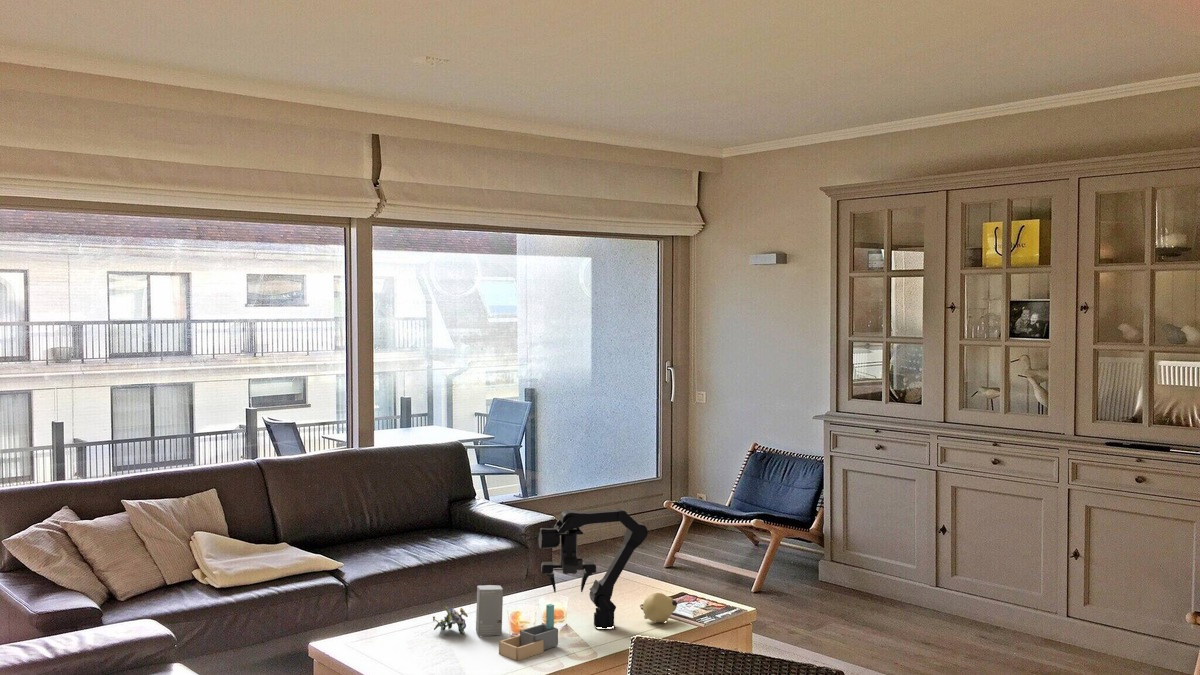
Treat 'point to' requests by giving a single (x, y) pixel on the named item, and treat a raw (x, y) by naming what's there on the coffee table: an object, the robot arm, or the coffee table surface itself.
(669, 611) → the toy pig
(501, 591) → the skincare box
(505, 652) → the tan open box
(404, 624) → the coffee table surface
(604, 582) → the robot arm
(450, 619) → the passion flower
